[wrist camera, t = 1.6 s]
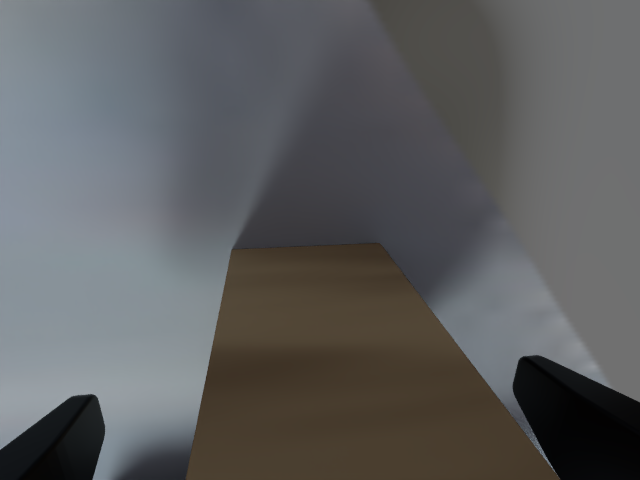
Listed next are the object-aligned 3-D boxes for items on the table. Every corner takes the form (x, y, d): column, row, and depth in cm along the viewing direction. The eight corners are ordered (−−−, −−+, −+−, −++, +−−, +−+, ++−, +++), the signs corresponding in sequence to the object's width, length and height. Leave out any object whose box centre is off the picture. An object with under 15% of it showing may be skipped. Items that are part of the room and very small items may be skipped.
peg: (371, 361, 12) (611, 967, 4) (242, 372, 12) (184, 1104, 3) (379, 242, 11) (803, 797, 2) (231, 249, 10) (82, 998, 2)
